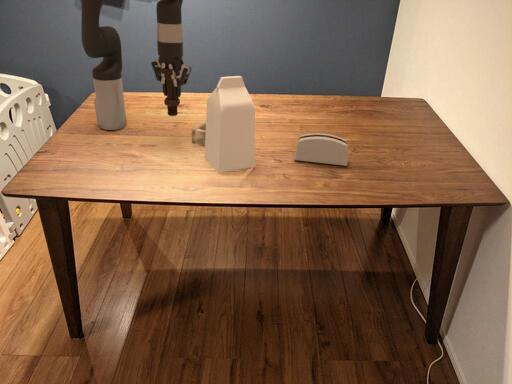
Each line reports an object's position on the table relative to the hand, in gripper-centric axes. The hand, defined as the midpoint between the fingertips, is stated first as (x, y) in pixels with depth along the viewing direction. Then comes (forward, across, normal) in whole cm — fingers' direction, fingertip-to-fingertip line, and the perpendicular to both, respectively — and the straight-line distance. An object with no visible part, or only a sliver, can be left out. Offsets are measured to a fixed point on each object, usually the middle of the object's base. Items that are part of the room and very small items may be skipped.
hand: (172, 96), depth 128 cm
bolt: (+6, 0, 0) cm, 6 cm away
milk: (+16, +23, -3) cm, 28 cm away
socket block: (+16, +10, +9) cm, 21 cm away
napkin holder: (+16, +48, +13) cm, 52 cm away
